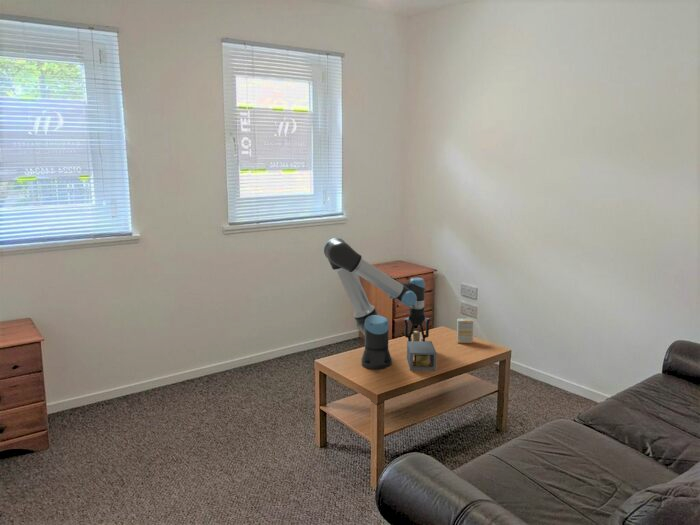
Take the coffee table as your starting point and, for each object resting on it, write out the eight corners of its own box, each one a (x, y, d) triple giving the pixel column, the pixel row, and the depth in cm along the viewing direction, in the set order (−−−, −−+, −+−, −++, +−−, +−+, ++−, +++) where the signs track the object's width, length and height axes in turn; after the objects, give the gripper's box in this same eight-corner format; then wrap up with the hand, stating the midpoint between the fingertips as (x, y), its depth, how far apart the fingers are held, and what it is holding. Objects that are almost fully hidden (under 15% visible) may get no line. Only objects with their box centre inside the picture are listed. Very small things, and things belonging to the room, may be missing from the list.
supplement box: (471, 340, 306) (472, 318, 303) (472, 343, 301) (473, 320, 298) (456, 340, 307) (457, 317, 304) (457, 343, 302) (458, 320, 299)
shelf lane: (410, 370, 266) (410, 352, 264) (406, 358, 281) (407, 341, 279) (436, 370, 266) (436, 352, 264) (431, 357, 281) (431, 341, 279)
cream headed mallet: (415, 367, 269) (416, 347, 267) (410, 348, 294) (410, 331, 292) (428, 367, 269) (428, 347, 267) (421, 348, 294) (421, 330, 292)
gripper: (400, 309, 284) (400, 352, 289) (435, 309, 284) (434, 351, 289) (399, 305, 291) (398, 347, 296) (433, 305, 291) (432, 346, 296)
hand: (416, 349), depth 292 cm, fingers open, 5 cm apart
